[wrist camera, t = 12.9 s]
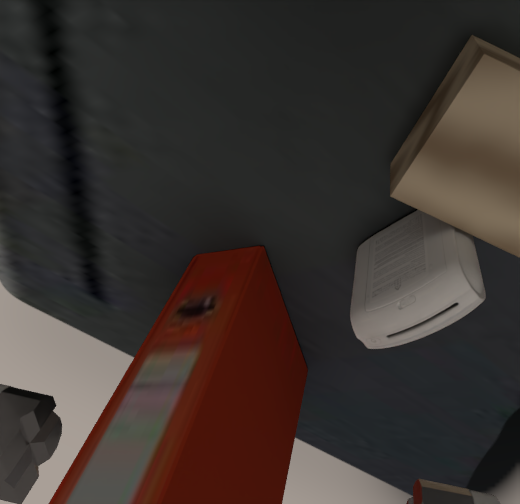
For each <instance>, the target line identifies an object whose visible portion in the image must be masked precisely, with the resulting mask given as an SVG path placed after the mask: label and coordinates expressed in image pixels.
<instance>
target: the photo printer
mask: <svg viewBox="0 0 520 504" xmlns="http://www.w3.org/2000/svg"><path fill="white" fill-rule="evenodd" d="M485 297H486V295H485V289H484V285H483V280H482V276H481V271H480V267H479V262H478V258H477V254H476V249H475V245H474V240H473V236H472V235H471V234H469V233H467V232H465V231H463V230H460V229H458V228H456V227H454V226H452V225H450V224H448V223H446V222H444V221H441V220H439V219H437V218H435V217H433V216H431V215H429V214H427V213H425V212H422V211H420V210H417V211H415V212H413V213H412V214H410V215H408V216H406V217H404V218H403V219H401V220H399V221H397V222H396V223H394V224H392V225H391V226H389V227H387V228H385V229H384V230H382V231H380V232H378V233H377V234H375V235H374V236H372V237H371V238H369V239H368V240H366V241H365V242H364V243H362V244H361V245H360V246H359V247H358V250H357V257H356V266H355V276H354V284H353V292H352V301H351V309H350V319H351V324H352V327H353V330H354V332H355V335H356V337H357V338H358V339H359V340H361V341H362V342H363V343H364V344H365V346H366V347H367V348H369V349H381V348H388V347H393V346H398V345H402V344H405V343H408V342H411V341H414V340H417V339H420V338H422V337H425V336H427V335H429V334H432V333H434V332H436V331H438V330H440V329H442V328H444V327H446V326H448V325H450V324H452V323H454V322H455V321H457V320H459V319H460V318H462V317H464V316H465V315H467V314H468V313H470V312H471V311H472V310H474V309H475V308H476V307H477V306H478V305H480V304H481V303H482V302H483V301H484V300H485Z"/></svg>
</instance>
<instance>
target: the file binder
mask: <svg viewBox="0 0 520 504" xmlns="http://www.w3.org/2000/svg"><path fill="white" fill-rule="evenodd" d="M307 372H308V369H307V366H306V363H305V360H304V358H303V355H302V352H301V349H300V346H299V344H298V341H297V338H296V335H295V332H294V330H293V327H292V324H291V321H290V318H289V316H288V313H287V310H286V307H285V304H284V302H283V299H282V296H281V293H280V290H279V288H278V285H277V282H276V279H275V276H274V274H273V271H272V268H271V265H270V262H269V260H268V257H267V254H266V251H265V248H264V246H262V247H260V246H254V247H247V248H240V249H233V250H226V251H219V252H212V253H205V254H198V255H196V256H194V257H193V259H192V261H191V262H190V264H189V266H188V267H187V269H186V271H185V273H184V274H183V276H182V278H181V279H180V281H179V283H178V284H177V286H176V288H175V290H174V291H173V293H172V295H171V296H170V298H169V300H168V301H167V303H166V305H165V307H164V308H163V310H162V312H161V313H160V315H159V317H158V318H157V320H156V322H155V324H154V325H153V327H152V329H151V330H150V332H149V334H148V336H147V337H146V339H145V341H144V342H143V344H142V346H141V347H140V349H139V351H138V353H137V354H136V356H135V358H134V360H133V361H132V363H131V364H130V366H129V368H128V370H127V371H126V373H125V375H124V376H123V378H122V380H121V381H120V383H119V385H118V387H117V388H116V390H115V392H114V393H113V395H112V397H111V399H110V400H109V402H108V404H107V405H106V407H105V409H104V410H103V412H102V414H101V416H100V417H99V419H98V421H97V422H96V424H95V426H94V427H93V429H92V431H91V433H90V434H89V436H88V438H87V440H86V441H85V443H84V445H83V446H82V448H81V450H80V451H79V453H78V455H77V457H76V458H75V460H74V462H73V463H72V465H71V467H70V468H69V470H68V472H67V474H66V475H65V477H64V479H63V480H62V482H61V484H60V485H59V487H58V489H57V490H56V492H55V494H54V496H53V497H52V499H51V501H50V503H49V504H282V500H283V495H284V490H285V484H286V479H287V474H288V469H289V464H290V459H291V454H292V449H293V444H294V439H295V434H296V428H297V423H298V418H299V413H300V408H301V403H302V398H303V392H304V387H305V382H306V377H307Z"/></svg>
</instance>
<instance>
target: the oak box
mask: <svg viewBox="0 0 520 504" xmlns="http://www.w3.org/2000/svg"><path fill="white" fill-rule="evenodd" d="M390 196H391V197H393V198H395V199H397V200H399V201H401V202H403V203H405V204H408V205H410V206H412V207H414V208H416V209H418V210H420V211H422V212H425V213H427V214H429V215H431V216H433V217H435V218H437V219H439V220H441V221H444V222H446V223H448V224H450V225H452V226H454V227H456V228H458V229H460V230H463V231H465V232H467V233H469V234H471V235H473V236H475V237H477V238H480V239H482V240H484V241H486V242H488V243H490V244H492V245H494V246H496V247H499V248H501V249H503V250H505V251H507V252H509V253H511V254H513V255H516V256H518V257H520V58H518V57H516V56H514V55H512V54H510V53H508V52H506V51H504V50H502V49H500V48H498V47H496V46H494V45H492V44H490V43H488V42H486V41H484V40H482V39H480V38H478V37H476V36H473V35H471V37H470V39H469V40H468V42H467V43H466V45H465V47H464V48H463V50H462V51H461V53H460V54H459V56H458V58H457V59H456V61H455V62H454V64H453V66H452V67H451V69H450V70H449V72H448V74H447V75H446V77H445V78H444V80H443V81H442V83H441V85H440V86H439V88H438V89H437V91H436V93H435V94H434V96H433V97H432V99H431V101H430V102H429V104H428V105H427V107H426V108H425V110H424V112H423V113H422V115H421V116H420V118H419V120H418V121H417V123H416V124H415V126H414V128H413V129H412V131H411V132H410V134H409V135H408V137H407V139H406V140H405V142H404V143H403V145H402V147H401V148H400V150H399V151H398V153H397V155H396V156H395V158H394V159H393V161H392V162H391V164H390Z"/></svg>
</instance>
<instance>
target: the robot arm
mask: <svg viewBox="0 0 520 504" xmlns="http://www.w3.org/2000/svg"><path fill="white" fill-rule="evenodd" d="M55 407H56V404H55V401H54V398H53V396H49V395H44V394H40V393H36V392H31V391H27V390H22V389H18V388H14V387H11V386H7V385H2V384H0V500H4V501H8V502H13V503H17V504H22V502H23V501H24V499H25V497H26V496H27V494H28V493H29V491H30V490H31V488H32V486H33V485H34V483H35V482H36V480H37V479H38V477H39V471H38V466H39V465H40V464H42V463H44V462H45V461H47V460H48V459H50V457H51V456H52V454H53V453H54V451H55V449H56V448H57V446H58V443H59V440H60V437H61V434H62V423H61V420H60V417H58V415H56V413H54V412H53V410H54V408H55ZM407 504H500V502H499V501H498V499H497V498H496V497H495V496H494V495H490V494H485V493H481V492H476V491H472V490H468V489H465V488H460V487H455V486H451V485H446V484H441V483H436V482H431V481H426V480H422V479H418V480H416V482H415V484H414V487H413V497H412V498H409V499H408V501H407Z"/></svg>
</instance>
